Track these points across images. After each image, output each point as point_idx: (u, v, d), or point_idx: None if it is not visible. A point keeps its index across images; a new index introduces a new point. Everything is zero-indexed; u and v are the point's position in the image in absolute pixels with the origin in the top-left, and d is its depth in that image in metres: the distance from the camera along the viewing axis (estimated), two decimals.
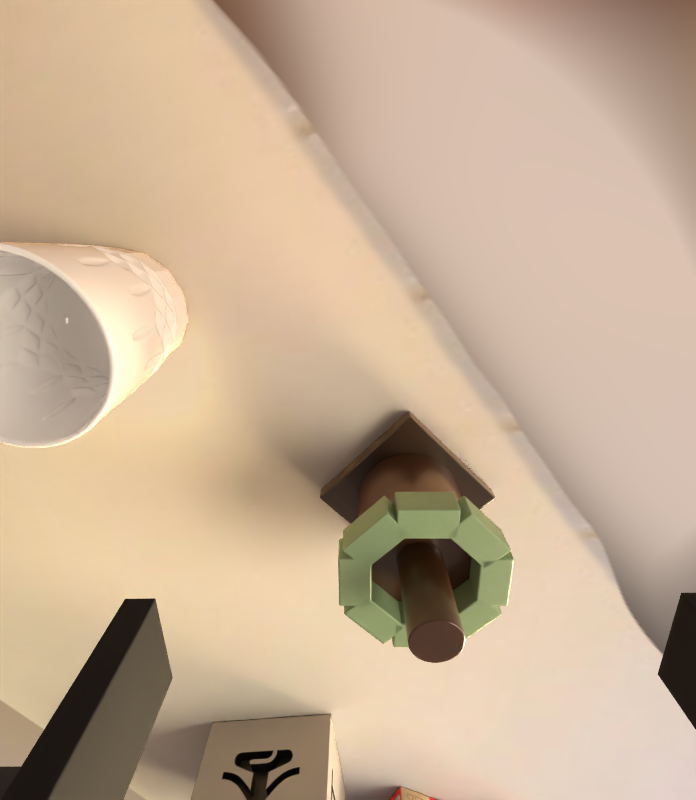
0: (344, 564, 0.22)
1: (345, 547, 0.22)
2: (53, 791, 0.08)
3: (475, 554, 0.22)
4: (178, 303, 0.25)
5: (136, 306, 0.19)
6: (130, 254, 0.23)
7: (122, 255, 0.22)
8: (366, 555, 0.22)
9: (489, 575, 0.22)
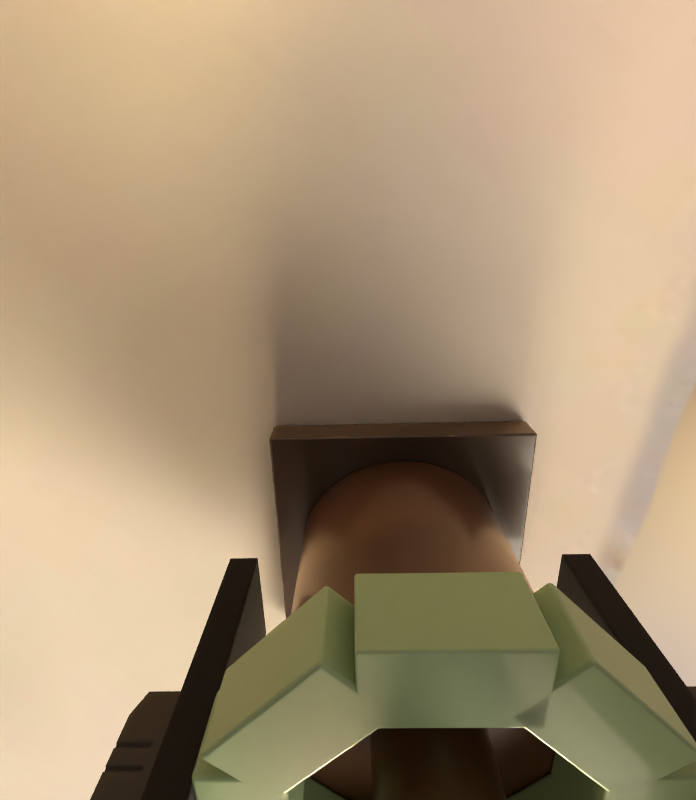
0: (322, 683, 0.07)
1: (369, 648, 0.06)
2: None
3: None
4: None
5: None
6: None
7: None
8: (397, 701, 0.07)
9: None
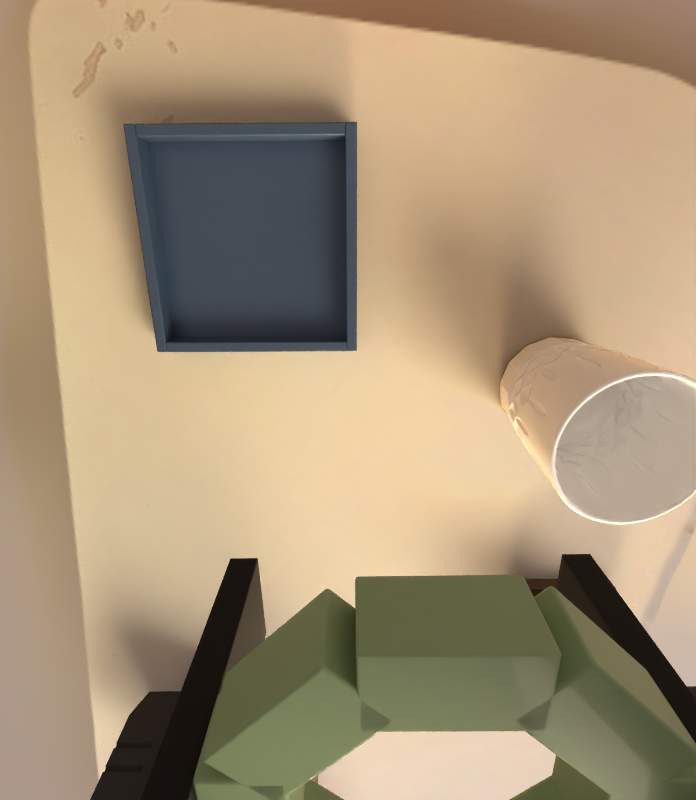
0: (323, 687, 0.07)
1: (369, 652, 0.06)
2: (214, 705, 0.09)
3: None
4: None
5: None
6: None
7: None
8: (397, 705, 0.07)
9: None
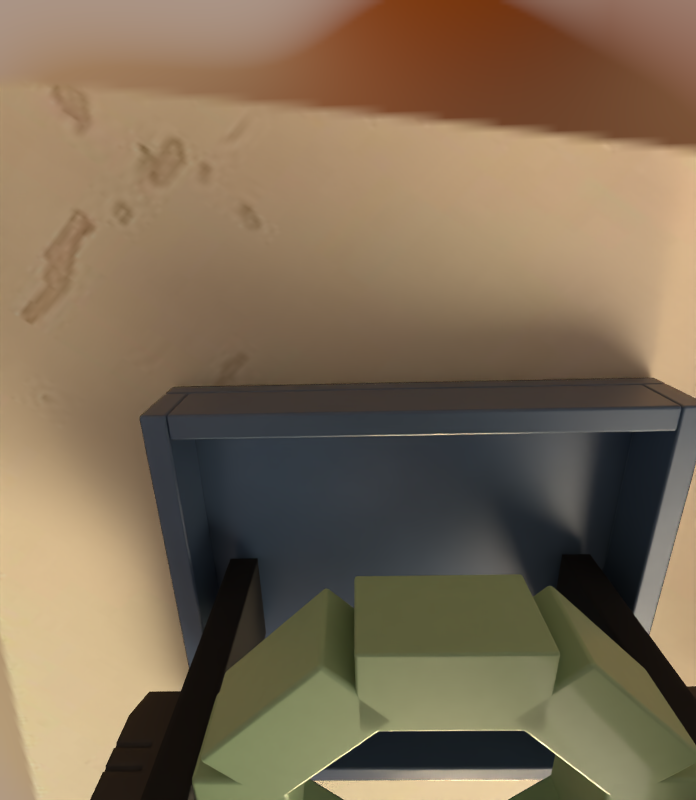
0: (321, 687, 0.07)
1: (368, 651, 0.06)
2: None
3: None
4: None
5: None
6: None
7: None
8: (396, 705, 0.07)
9: None
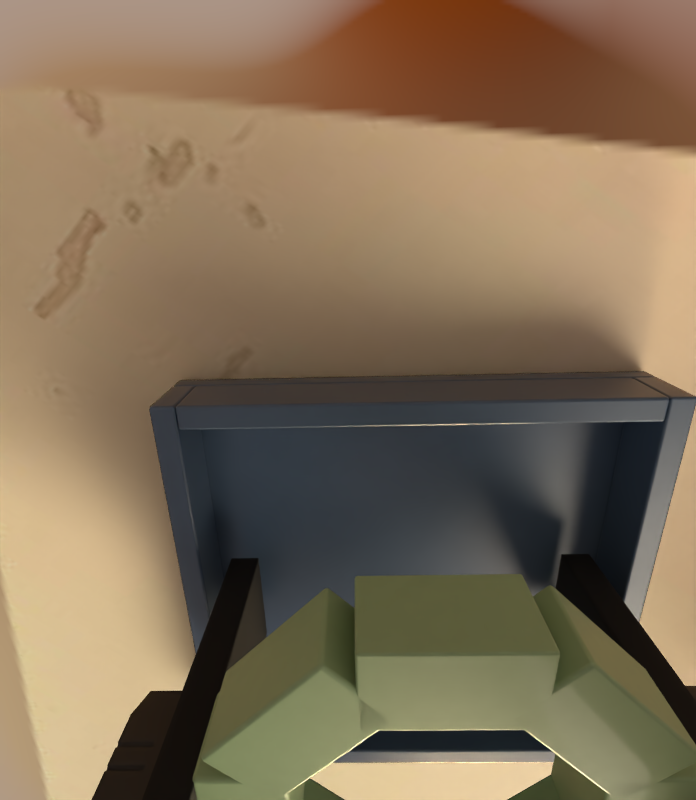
0: (322, 686, 0.07)
1: (368, 651, 0.06)
2: None
3: None
4: None
5: None
6: None
7: None
8: (396, 704, 0.07)
9: None
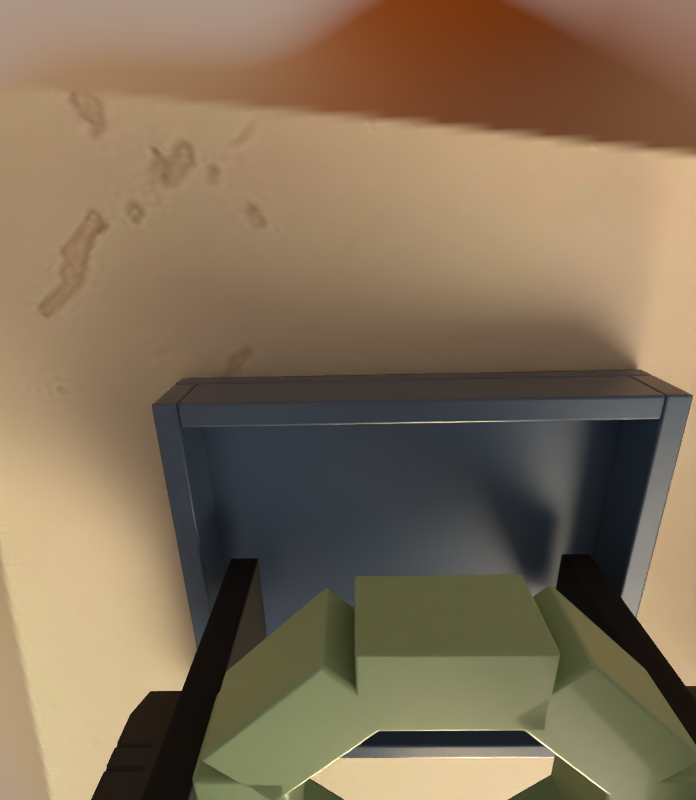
0: (322, 687, 0.07)
1: (368, 651, 0.06)
2: None
3: None
4: None
5: None
6: None
7: None
8: (396, 704, 0.07)
9: None
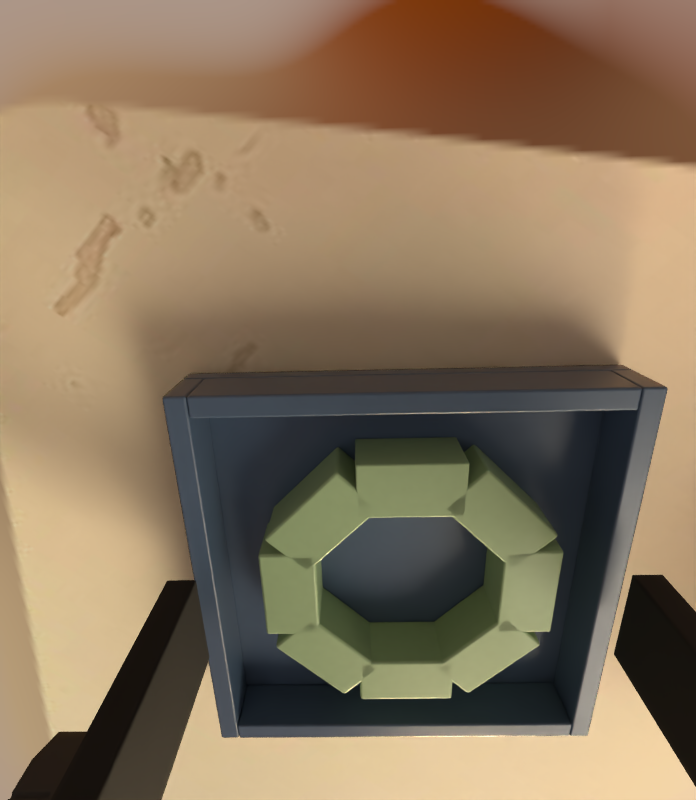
0: (336, 486, 0.12)
1: (363, 464, 0.12)
2: (120, 751, 0.08)
3: (508, 605, 0.13)
4: None
5: None
6: None
7: None
8: (379, 498, 0.12)
9: (492, 643, 0.14)
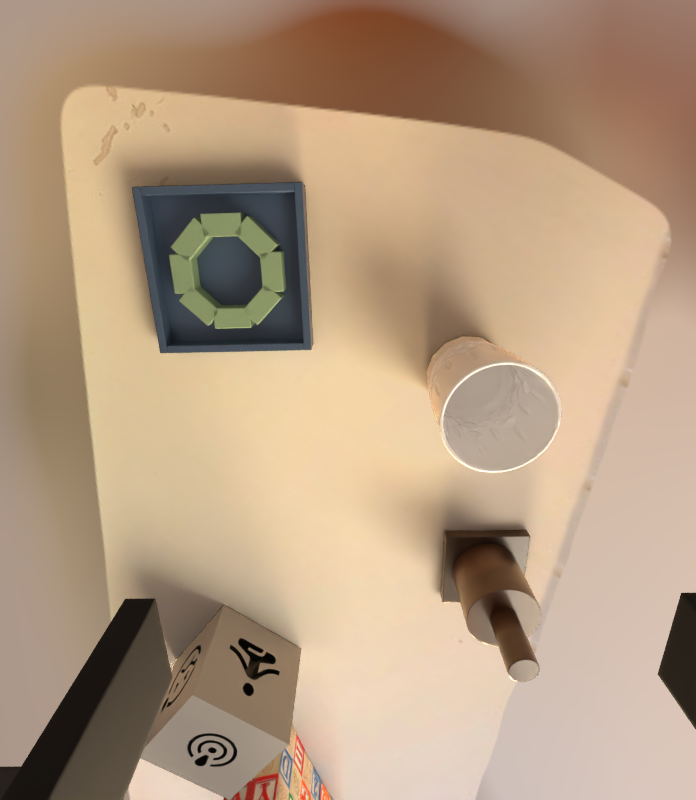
0: (194, 222, 0.33)
1: None
2: (53, 791, 0.08)
3: (264, 278, 0.35)
4: None
5: None
6: None
7: None
8: (210, 228, 0.33)
9: (262, 297, 0.35)
